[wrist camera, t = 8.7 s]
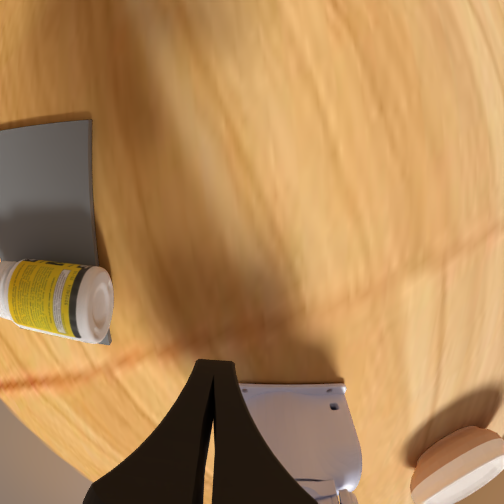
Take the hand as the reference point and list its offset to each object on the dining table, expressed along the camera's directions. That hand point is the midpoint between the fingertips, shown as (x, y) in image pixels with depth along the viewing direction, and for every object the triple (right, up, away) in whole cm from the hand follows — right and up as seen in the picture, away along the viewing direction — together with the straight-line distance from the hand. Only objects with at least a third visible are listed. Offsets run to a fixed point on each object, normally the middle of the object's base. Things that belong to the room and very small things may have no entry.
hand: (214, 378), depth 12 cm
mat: (-13, +6, +7) cm, 16 cm away
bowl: (+30, -24, +22) cm, 44 cm away
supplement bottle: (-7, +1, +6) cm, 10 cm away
